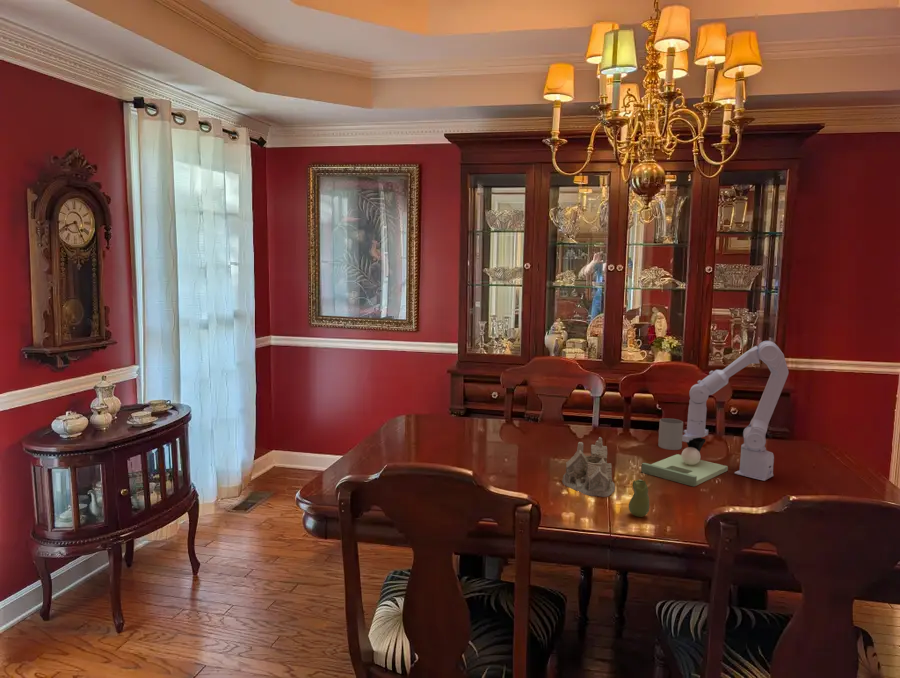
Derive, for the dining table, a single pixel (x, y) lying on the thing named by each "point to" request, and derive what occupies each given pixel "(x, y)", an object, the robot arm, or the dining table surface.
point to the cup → (670, 434)
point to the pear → (639, 499)
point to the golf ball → (690, 456)
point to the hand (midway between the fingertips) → (693, 458)
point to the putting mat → (683, 470)
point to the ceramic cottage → (590, 471)
